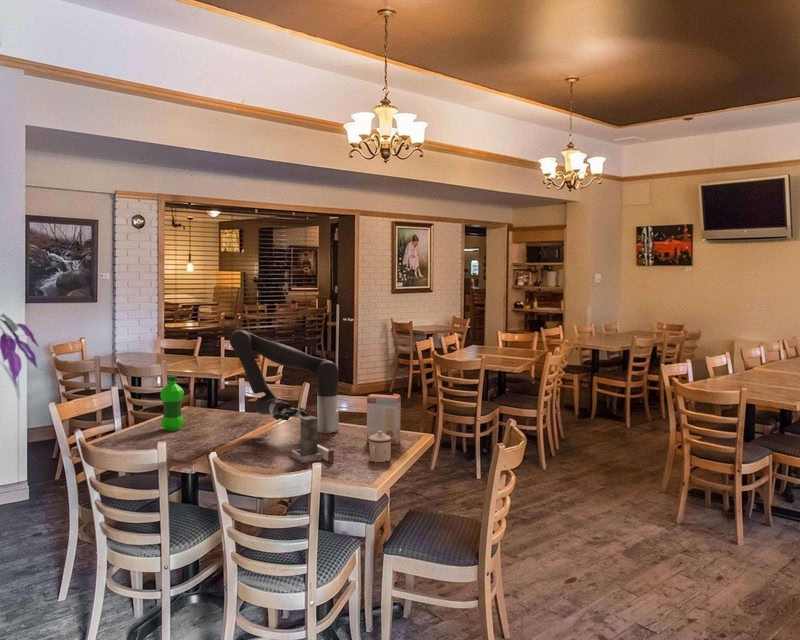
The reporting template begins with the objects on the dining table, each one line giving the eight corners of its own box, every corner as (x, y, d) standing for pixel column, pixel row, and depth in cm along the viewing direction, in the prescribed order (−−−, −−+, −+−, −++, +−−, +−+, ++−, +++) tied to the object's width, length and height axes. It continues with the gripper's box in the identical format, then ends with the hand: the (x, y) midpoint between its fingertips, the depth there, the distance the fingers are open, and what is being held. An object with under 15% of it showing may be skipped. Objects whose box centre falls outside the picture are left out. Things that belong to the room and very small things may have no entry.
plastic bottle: (160, 432, 284) (159, 378, 282) (162, 427, 294) (161, 375, 292) (183, 431, 286) (182, 378, 285) (184, 426, 296) (184, 374, 295)
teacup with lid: (373, 455, 254) (374, 427, 253) (394, 458, 250) (394, 429, 250) (361, 463, 243) (361, 434, 242) (382, 466, 239) (383, 436, 238)
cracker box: (400, 442, 275) (401, 395, 273) (396, 445, 269) (396, 398, 268) (371, 439, 279) (371, 393, 278) (366, 442, 274) (366, 395, 272)
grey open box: (309, 449, 260) (309, 438, 260) (333, 462, 243) (333, 450, 242) (285, 453, 254) (285, 441, 254) (308, 467, 237) (309, 454, 236)
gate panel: (307, 450, 258) (307, 441, 258) (313, 450, 259) (313, 440, 259) (328, 461, 243) (328, 451, 243) (333, 460, 245) (333, 450, 245)
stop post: (311, 454, 252) (311, 415, 251) (317, 457, 248) (317, 418, 247) (300, 456, 249) (300, 417, 248) (306, 459, 245) (306, 419, 244)
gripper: (265, 403, 267) (281, 410, 254) (295, 399, 276) (312, 405, 262) (265, 420, 268) (281, 428, 255) (295, 415, 276) (312, 423, 263)
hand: (297, 416), depth 259 cm, fingers open, 8 cm apart
